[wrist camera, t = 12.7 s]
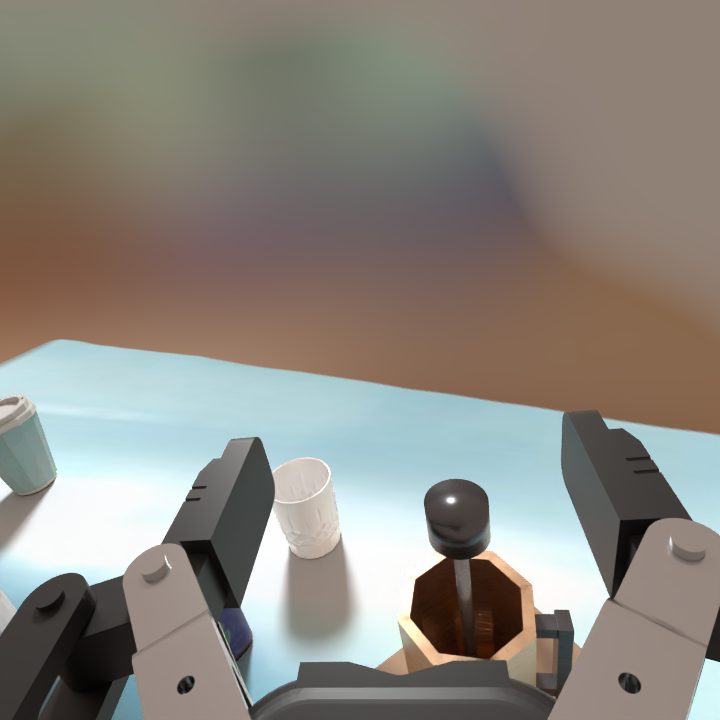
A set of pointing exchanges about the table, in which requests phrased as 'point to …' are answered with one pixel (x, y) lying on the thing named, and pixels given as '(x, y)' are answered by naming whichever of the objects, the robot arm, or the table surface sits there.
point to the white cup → (306, 507)
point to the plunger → (459, 539)
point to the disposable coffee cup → (23, 447)
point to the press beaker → (482, 621)
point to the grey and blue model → (236, 631)
